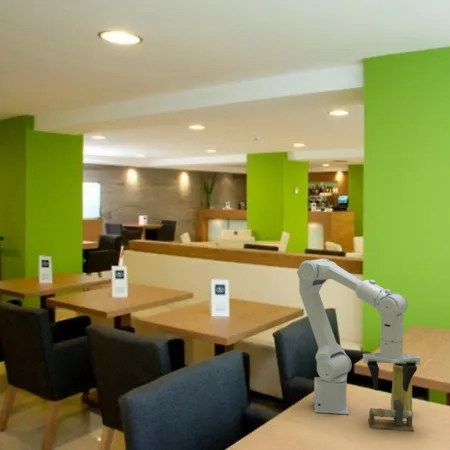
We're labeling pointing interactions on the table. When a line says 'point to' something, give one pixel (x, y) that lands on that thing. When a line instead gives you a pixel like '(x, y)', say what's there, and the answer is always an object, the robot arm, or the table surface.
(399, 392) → the vase
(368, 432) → the table surface
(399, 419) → the dark grey square frame
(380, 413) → the pipe stand
